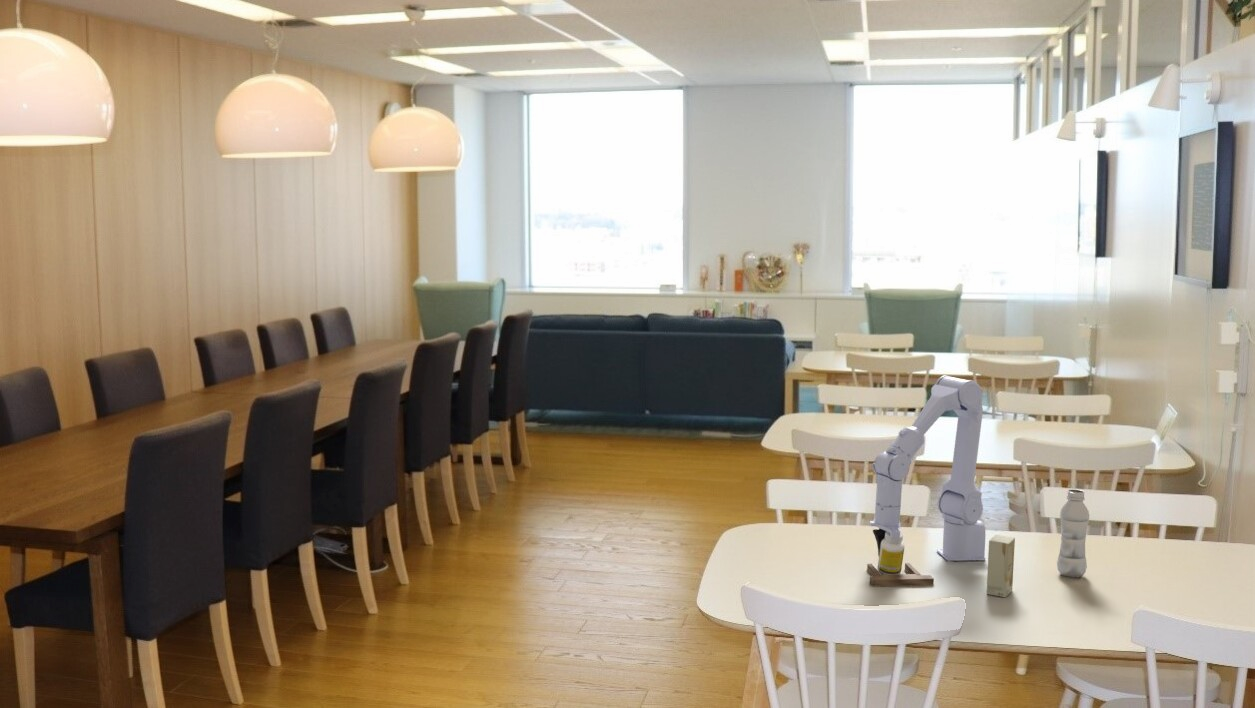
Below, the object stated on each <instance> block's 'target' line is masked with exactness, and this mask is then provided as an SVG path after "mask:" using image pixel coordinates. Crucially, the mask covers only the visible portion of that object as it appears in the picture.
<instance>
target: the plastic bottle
mask: <svg viewBox="0 0 1255 708" xmlns="http://www.w3.org/2000/svg"><path fill="white" fill-rule="evenodd" d="M1066 499H1067V501H1066V502H1065V504H1064V505H1062V507H1061V509H1060V511H1059V518H1060V527H1061V529H1060V530H1061V531H1060V535H1061V536H1060V540H1061V541H1060V547H1059V553H1058V557H1057V561H1056V567H1057V571H1058V572H1059V574H1060V575H1062V576H1065V577H1070V578H1081V577H1083V576H1084V575H1085V574H1086V571H1087V569H1088V566H1087V557H1086V538H1087V532H1088V531H1087V530H1088V526H1089V522H1090V512H1089V510H1088V508H1087V507H1088V506H1086V505H1085V503H1084V501H1085V500H1086V499H1085V491H1084V490H1082V489H1068V490H1067V495H1066Z"/></svg>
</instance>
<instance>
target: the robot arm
mask: <svg viewBox="0 0 1255 708" xmlns="http://www.w3.org/2000/svg"><path fill="white" fill-rule="evenodd" d="M930 391H931V392H930V393H931V395H930V398H929V399H928V400H927V402H926V403H925V405H924V406H923V408H922V410H921V411H920V412H919V414H918V415H917V417H916V419H915V420H914V422H913V423H912V425H911V426H906V427H903V428H902V429H900V430H899V431H898V435H897V436H896V437H895V439H894V440H893V441H892V442H891V444H890V445H889V447H888V448H887V449H886V451H883V452H880V453H879V454H877V456H876V457H875V459H874V462H873V463H872V470H873V472H874V474H875V481H876V492H875V493H876V494H875V507H874V514H873V520H870V521H869V523H868V524H869V526H871V527H875V528H878V529H875V528H874V529H872V533H873V535H874V538H875V541H876V546H877V552H878V553H877V554H878V557H879V553H880V546H881V541H882V540H883V539H885V532H886V531H887V532H889V533H890V538H891V539H900V532H901V530H900V528H901V523H900V520H901V508H902V507H901V506H902V505H901V503H902V491H903V490H902V489H903V479H904V478H906V477H907V475H909V471H910V466H911V464H912V459H913V458H914V456H915V455H916V454H917V453H918V452H919V450H920V449H921V447H922V446H923V445H924V443H925V434H926V433H927V432H928V431H929V430H930V429H931V427H932V426H933V425H934V424H935V423H936V422H937V421H938V419H939V418H940V417H941V416H942V415H943V414H944V413H945V412H948V411H953V412H954V413H955V414H956V415H957V423H956V424H957V425H956V433H955V441H954V448H953V457H952V465H951V473H950V479H949V480H948V481H947V482H945V483H944V484H943V485H942V488H941V489H942V490H941V493H940V495H939V497H938V500H937V509H938V511H939V512H940V513H941V518H942V519H943V534H942V536H943V539H942V540H943V541H942V548H941V549H939V548H938V549H936V553H938V554H940V555H941V557H943V558H944V559H945V560H946V561H947V562H948V561H951V562H952V561H953V562H957V561H961V562H962V561H986V557H985V555H986V553H985V551H986V527H985V524H984V522H983V521H982V520H980V519H981V516H982V514H983V512H984V508H983V507H984V506H983V503H982V502H983V501H982V493H983V492H982V491H981V490H980V489H979V487H978V486H977V484H976V483H975V479H976V478H975V477H976V471H977V470H976V468H977V461H978V454H979V446H980V438H981V429H982V420H983V412H984V411H983V410H984V409H983V403H982V402H983V395H984V389H983V387H981V386H980V385H979V383H978V382H977V381H975V380H971V379H969V380H967V379H963V378H959V377H953V376H951V375H945V374H944V375H942V376H940V377H938V379H937V380H936V382H935V384H934V385H933V386H932V387H931V390H930Z"/></svg>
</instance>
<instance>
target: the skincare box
mask: <svg viewBox="0 0 1255 708" xmlns="http://www.w3.org/2000/svg"><path fill="white" fill-rule="evenodd" d="M1015 540H1016V537H1014V536H1013V537H1012V536H1008V535H1000V534H996V535H994V536H992V538H991V539H989V541H988V553H987V554H988V557H987V578H986V592H985V593H986V594H987V595H991V596H996V597H1001V598H1007V596H1008V595H1010V594H1011V592H1012V591H1013V583H1014V561H1015V547H1016V546H1015V543H1016V541H1015Z"/></svg>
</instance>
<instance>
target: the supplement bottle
mask: <svg viewBox="0 0 1255 708" xmlns="http://www.w3.org/2000/svg"><path fill="white" fill-rule="evenodd" d="M903 536H904V534H903V532H902V531H900V539H891V538H890V533H889V532H887V531H886V532H885V539H883V540H882V541H881V546H880V553H879V556H878V561H877V570H878V571H879V573H880V574H881V575H893V574H901V572H902V567H903V559H904V552H905V544H904V542H903V539H904V537H903Z"/></svg>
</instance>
